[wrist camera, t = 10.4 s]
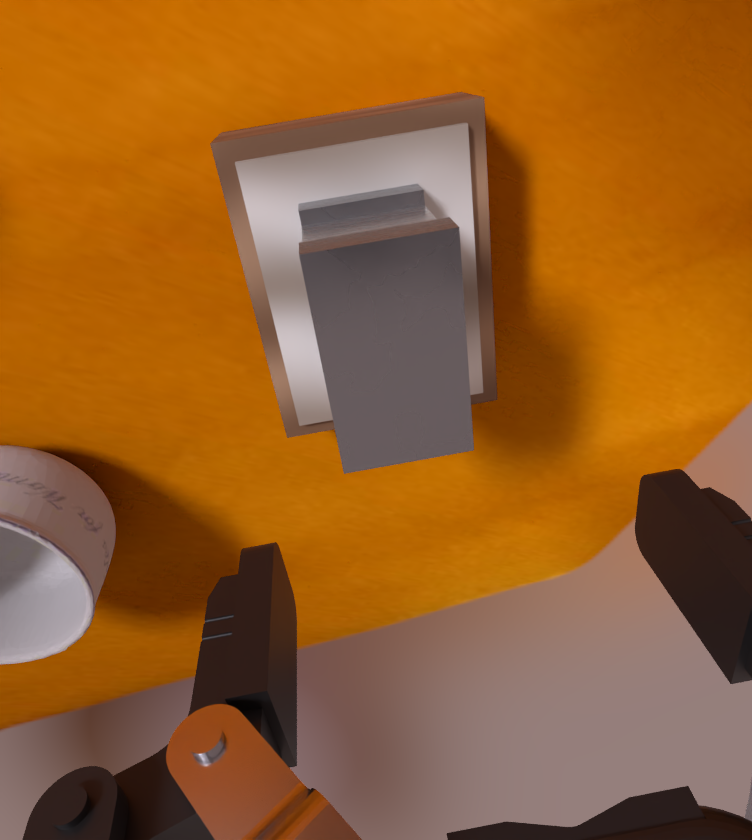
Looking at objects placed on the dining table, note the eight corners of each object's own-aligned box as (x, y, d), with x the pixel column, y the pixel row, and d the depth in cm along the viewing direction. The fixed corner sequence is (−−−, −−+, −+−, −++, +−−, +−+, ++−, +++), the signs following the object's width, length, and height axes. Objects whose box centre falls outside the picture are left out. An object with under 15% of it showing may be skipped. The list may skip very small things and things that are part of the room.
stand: (221, 132, 27) (209, 144, 24) (460, 92, 28) (486, 97, 24) (288, 400, 35) (287, 441, 31) (477, 366, 35) (499, 403, 31)
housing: (298, 203, 25) (298, 254, 19) (417, 183, 25) (459, 227, 19) (333, 381, 30) (344, 473, 23) (435, 364, 30) (474, 450, 23)
